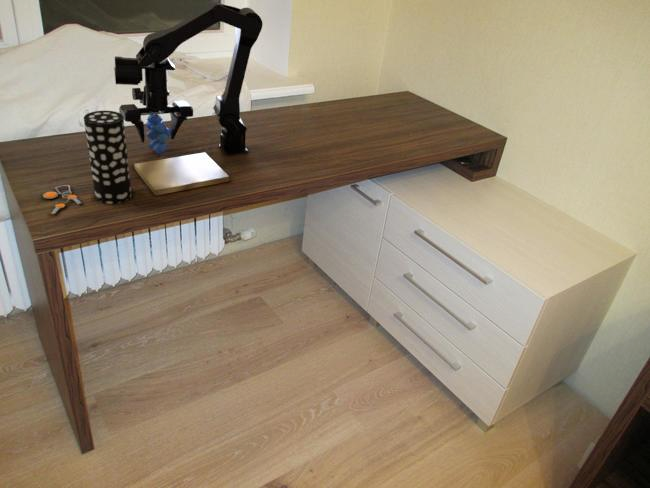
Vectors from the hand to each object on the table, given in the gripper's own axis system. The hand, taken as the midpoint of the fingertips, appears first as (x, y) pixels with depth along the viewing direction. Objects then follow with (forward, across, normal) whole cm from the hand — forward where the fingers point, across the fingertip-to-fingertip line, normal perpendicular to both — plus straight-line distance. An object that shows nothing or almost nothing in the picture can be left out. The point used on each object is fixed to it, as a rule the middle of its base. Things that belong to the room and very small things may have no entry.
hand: (157, 140), depth 152 cm
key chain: (+5, +29, +17) cm, 34 cm away
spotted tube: (+5, +18, +19) cm, 26 cm away
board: (+4, -1, +15) cm, 16 cm away
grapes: (+4, -1, 0) cm, 4 cm away
